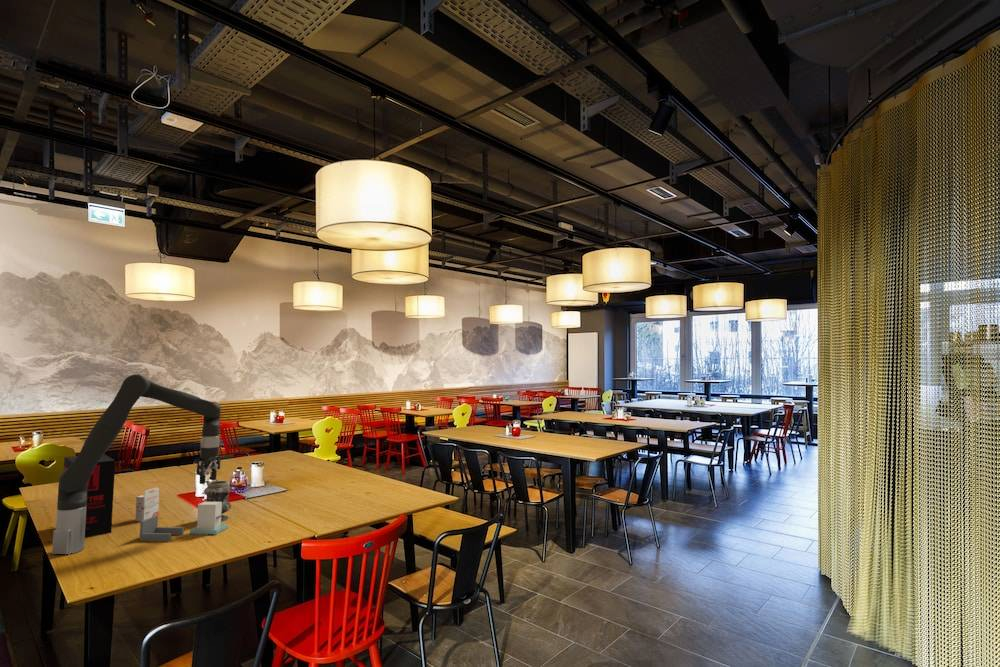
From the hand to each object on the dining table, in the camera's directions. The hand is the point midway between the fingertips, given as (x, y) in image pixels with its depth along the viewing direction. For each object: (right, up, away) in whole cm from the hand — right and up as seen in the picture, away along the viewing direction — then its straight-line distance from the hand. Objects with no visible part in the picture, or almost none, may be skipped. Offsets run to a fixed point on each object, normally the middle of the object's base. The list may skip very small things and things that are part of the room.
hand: (208, 481), depth 234 cm
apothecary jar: (-5, -24, +17) cm, 29 cm away
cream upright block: (+1, -22, -1) cm, 22 cm away
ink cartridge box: (-39, -23, +16) cm, 49 cm away
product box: (-56, -22, 0) cm, 60 cm away
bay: (-14, -21, -10) cm, 27 cm away
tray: (+1, -22, -1) cm, 22 cm away
